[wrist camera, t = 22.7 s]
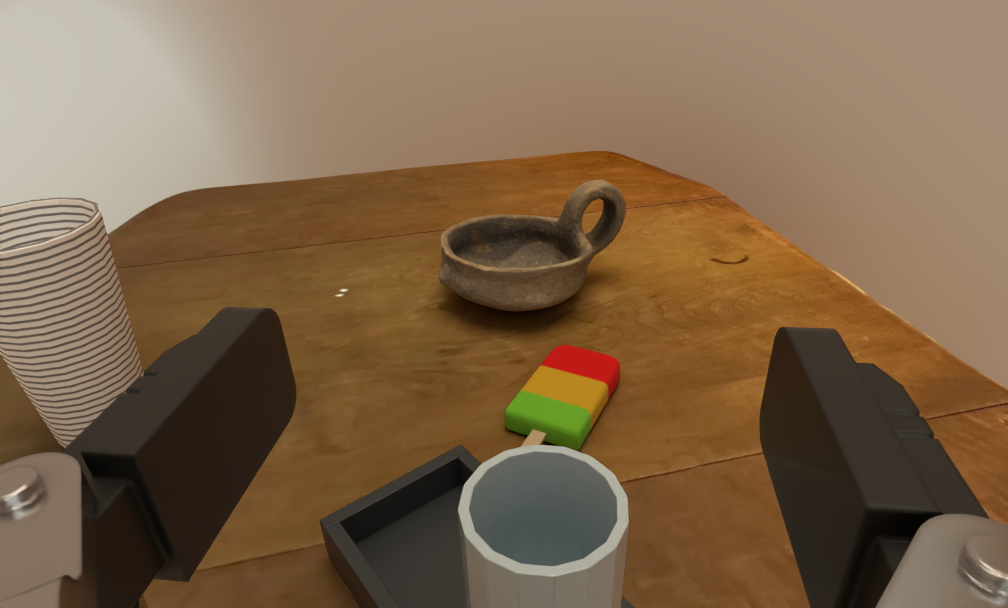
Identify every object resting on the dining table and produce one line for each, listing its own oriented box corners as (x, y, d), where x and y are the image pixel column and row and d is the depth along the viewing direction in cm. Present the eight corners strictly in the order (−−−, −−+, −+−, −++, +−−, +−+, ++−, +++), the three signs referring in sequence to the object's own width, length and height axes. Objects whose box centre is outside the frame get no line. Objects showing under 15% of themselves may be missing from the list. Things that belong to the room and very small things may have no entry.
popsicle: (624, 377, 49) (625, 356, 48) (541, 518, 38) (541, 495, 37) (557, 359, 52) (557, 339, 51) (460, 487, 40) (458, 464, 39)
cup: (10, 471, 42) (-111, 258, 35) (80, 391, 50) (-6, 199, 42) (140, 467, 42) (49, 252, 35) (192, 387, 50) (126, 194, 42)
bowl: (425, 276, 64) (416, 179, 59) (589, 248, 69) (593, 156, 64) (460, 351, 53) (452, 238, 48) (653, 312, 57) (664, 205, 52)
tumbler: (640, 689, 28) (664, 512, 23) (534, 787, 25) (532, 610, 20) (549, 594, 32) (550, 424, 27) (448, 668, 29) (427, 493, 24)
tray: (690, 706, 29) (698, 666, 27) (530, 867, 24) (529, 830, 22) (464, 480, 41) (461, 443, 39) (328, 557, 36) (318, 520, 34)
